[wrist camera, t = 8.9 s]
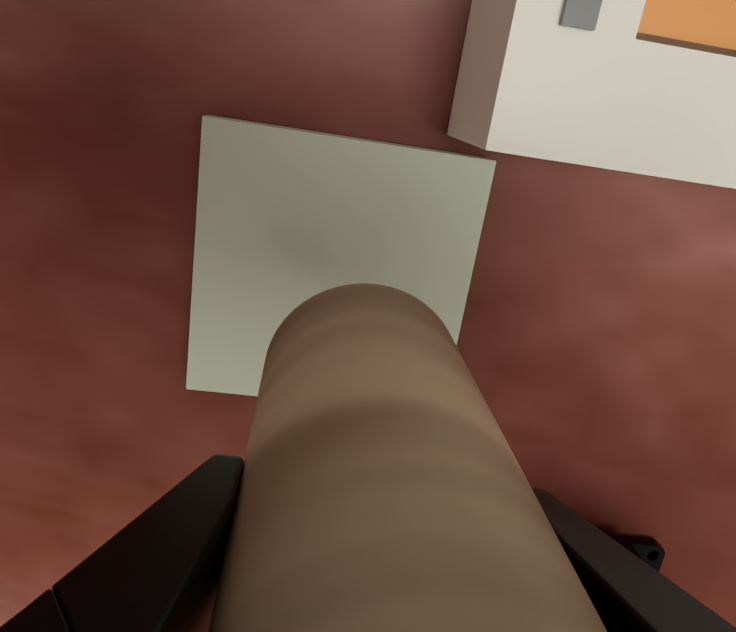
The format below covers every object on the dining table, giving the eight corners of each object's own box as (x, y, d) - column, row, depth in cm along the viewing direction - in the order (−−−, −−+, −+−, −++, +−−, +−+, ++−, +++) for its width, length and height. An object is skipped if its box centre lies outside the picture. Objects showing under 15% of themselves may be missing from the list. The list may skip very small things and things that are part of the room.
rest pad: (436, 401, 23) (441, 415, 22) (191, 376, 22) (185, 389, 21) (488, 157, 20) (496, 161, 19) (207, 114, 19) (201, 116, 18)
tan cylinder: (436, 469, 14) (685, 1292, 4) (253, 449, 13) (87, 1325, 4) (477, 298, 12) (959, 942, 3) (276, 268, 12) (109, 931, 3)
